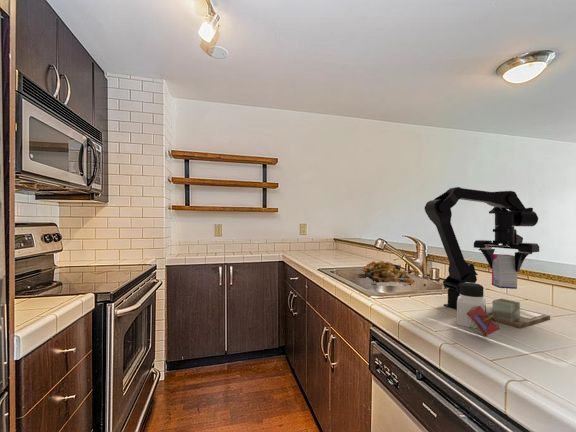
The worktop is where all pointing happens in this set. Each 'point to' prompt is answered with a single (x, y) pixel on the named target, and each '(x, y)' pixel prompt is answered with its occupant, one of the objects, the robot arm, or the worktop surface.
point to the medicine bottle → (469, 302)
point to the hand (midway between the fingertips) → (504, 270)
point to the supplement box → (504, 271)
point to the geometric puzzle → (482, 320)
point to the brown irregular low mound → (387, 274)
